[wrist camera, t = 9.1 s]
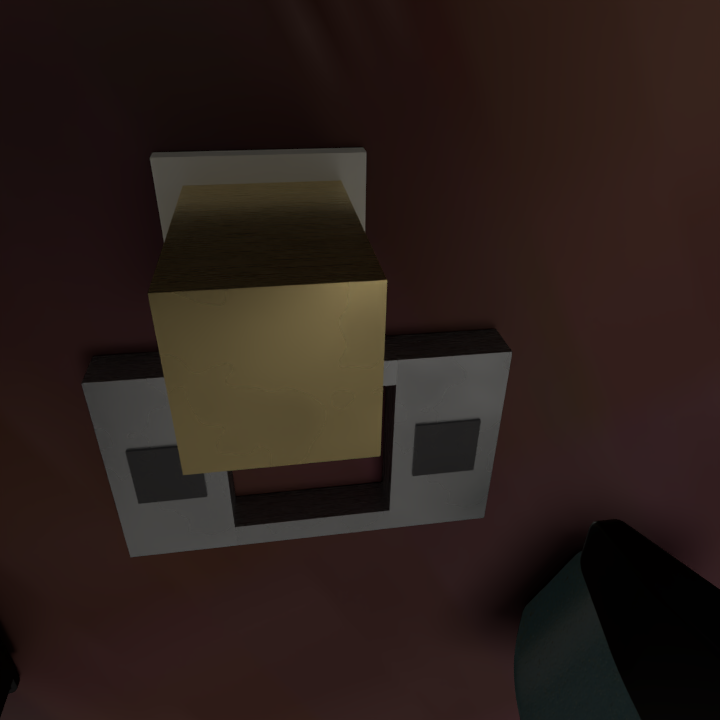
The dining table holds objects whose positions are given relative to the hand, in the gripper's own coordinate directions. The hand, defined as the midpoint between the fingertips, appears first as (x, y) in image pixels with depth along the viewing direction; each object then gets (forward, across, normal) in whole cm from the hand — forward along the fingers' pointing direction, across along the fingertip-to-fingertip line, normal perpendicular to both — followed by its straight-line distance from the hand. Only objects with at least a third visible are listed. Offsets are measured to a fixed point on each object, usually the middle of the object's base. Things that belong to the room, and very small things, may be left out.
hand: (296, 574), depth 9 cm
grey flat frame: (+12, -1, +7) cm, 14 cm away
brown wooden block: (+12, 0, 0) cm, 12 cm away
